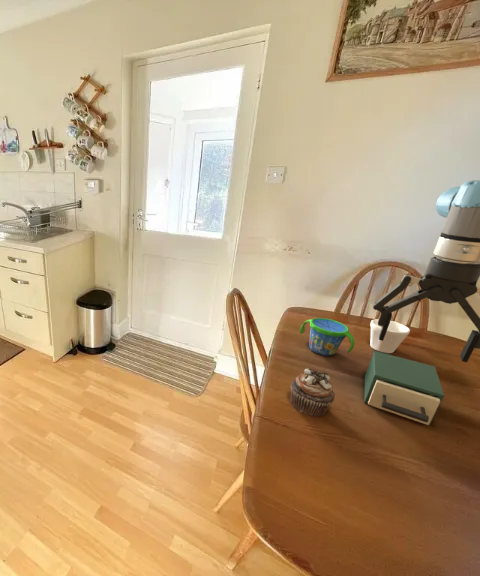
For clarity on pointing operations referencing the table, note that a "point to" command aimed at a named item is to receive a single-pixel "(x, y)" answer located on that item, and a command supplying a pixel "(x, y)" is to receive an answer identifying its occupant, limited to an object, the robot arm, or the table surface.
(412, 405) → the drawer
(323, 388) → the cupcake
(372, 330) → the cup
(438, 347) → the table surface
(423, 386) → the cabinet
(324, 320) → the snack cup
